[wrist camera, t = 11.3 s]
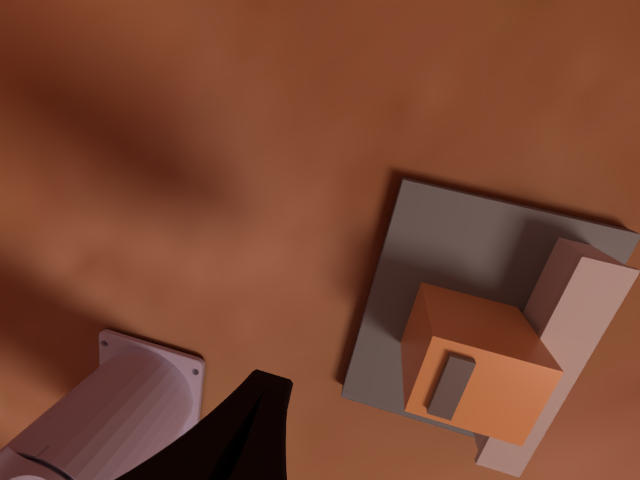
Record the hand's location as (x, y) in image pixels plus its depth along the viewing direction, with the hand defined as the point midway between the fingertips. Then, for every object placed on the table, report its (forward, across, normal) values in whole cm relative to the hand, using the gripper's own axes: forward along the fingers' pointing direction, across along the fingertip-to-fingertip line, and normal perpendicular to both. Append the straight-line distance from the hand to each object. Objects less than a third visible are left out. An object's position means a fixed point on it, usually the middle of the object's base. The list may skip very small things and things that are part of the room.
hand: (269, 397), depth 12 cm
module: (+8, -8, 0) cm, 12 cm away
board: (+9, -8, 0) cm, 13 cm away
